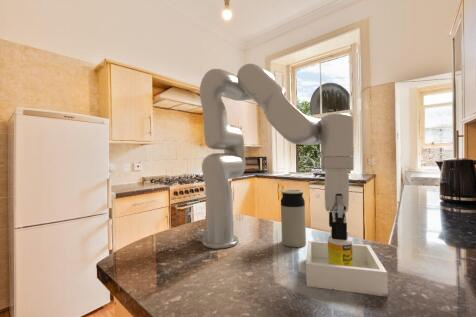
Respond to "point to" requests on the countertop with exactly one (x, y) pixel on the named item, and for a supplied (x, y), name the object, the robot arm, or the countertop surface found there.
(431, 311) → the countertop surface
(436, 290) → the countertop surface
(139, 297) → the countertop surface
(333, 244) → the supplement bottle
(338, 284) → the bin
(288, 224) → the travel mug
